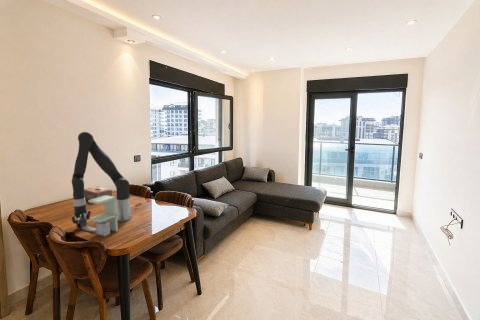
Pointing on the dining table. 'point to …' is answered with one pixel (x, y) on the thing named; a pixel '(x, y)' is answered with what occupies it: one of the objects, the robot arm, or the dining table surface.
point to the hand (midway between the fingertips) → (81, 226)
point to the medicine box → (103, 228)
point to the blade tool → (84, 227)
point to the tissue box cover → (96, 192)
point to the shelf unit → (107, 211)
